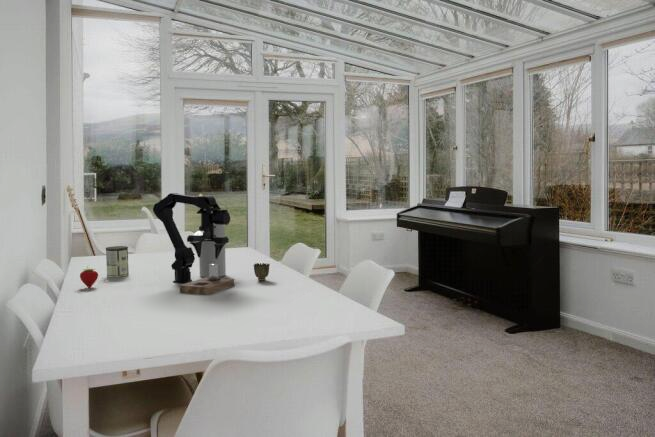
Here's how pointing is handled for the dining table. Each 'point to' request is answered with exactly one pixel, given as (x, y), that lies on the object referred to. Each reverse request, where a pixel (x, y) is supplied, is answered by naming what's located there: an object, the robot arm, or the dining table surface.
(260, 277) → the cup
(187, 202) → the robot arm
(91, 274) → the strawberry
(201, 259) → the cylinder vase
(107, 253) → the coffee can
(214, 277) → the lock pin
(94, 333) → the dining table surface
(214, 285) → the mount block
